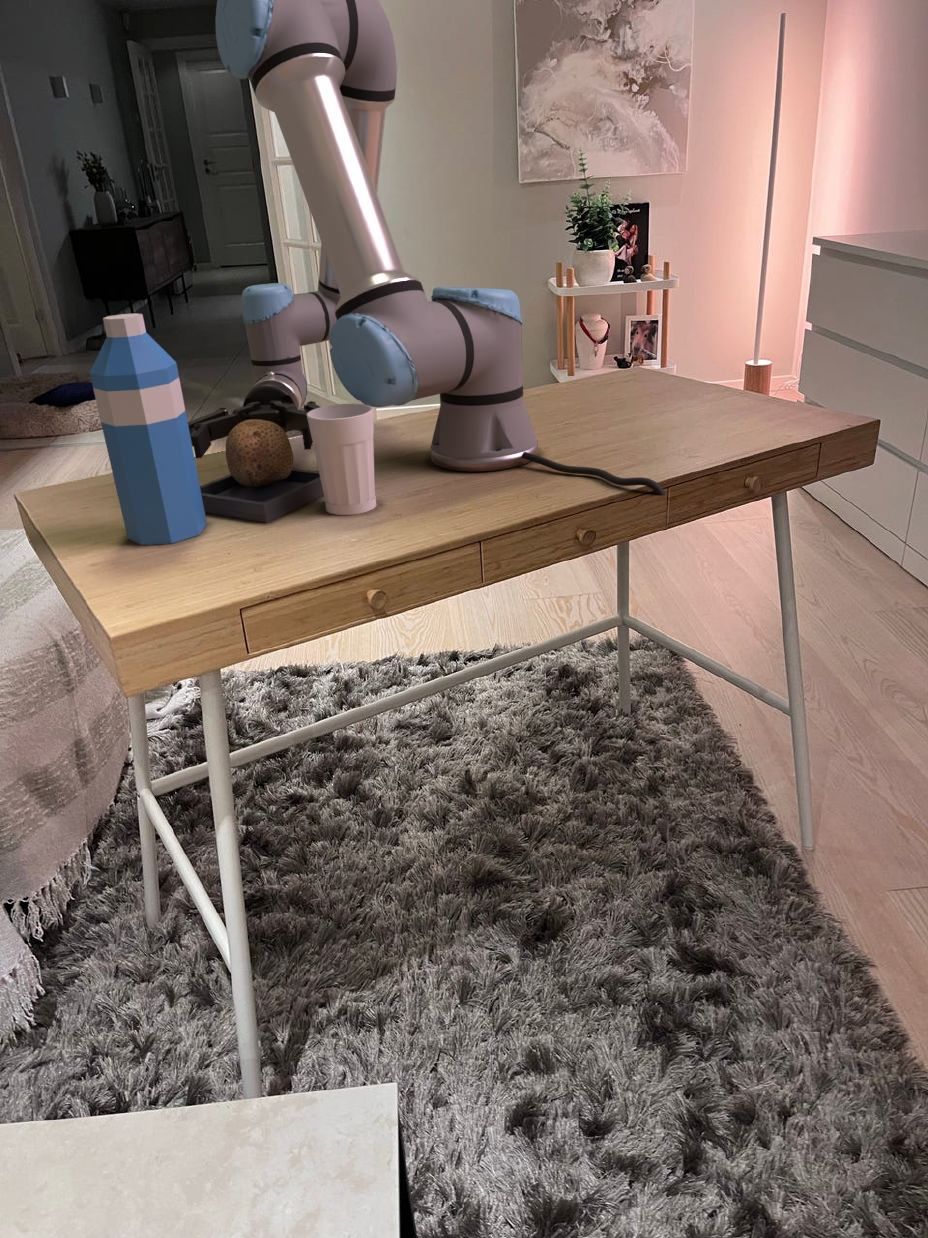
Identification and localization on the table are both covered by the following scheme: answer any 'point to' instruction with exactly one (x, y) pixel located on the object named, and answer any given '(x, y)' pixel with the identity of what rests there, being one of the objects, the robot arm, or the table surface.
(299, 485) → the soap dish
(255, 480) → the natural sponge
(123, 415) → the water bottle
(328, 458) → the cup
